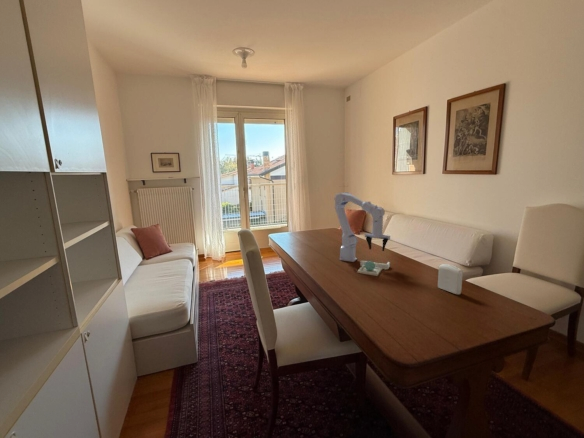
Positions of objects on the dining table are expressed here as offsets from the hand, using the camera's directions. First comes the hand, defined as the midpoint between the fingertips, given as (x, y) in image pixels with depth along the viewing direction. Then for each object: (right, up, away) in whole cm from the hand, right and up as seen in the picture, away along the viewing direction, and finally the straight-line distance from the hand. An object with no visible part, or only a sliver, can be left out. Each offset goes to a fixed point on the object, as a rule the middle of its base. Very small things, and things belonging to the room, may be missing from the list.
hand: (376, 249), depth 158 cm
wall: (-1, -10, +1) cm, 10 cm away
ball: (-6, -11, -8) cm, 15 cm away
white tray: (-7, -11, -8) cm, 15 cm away
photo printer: (+23, -15, -34) cm, 44 cm away
